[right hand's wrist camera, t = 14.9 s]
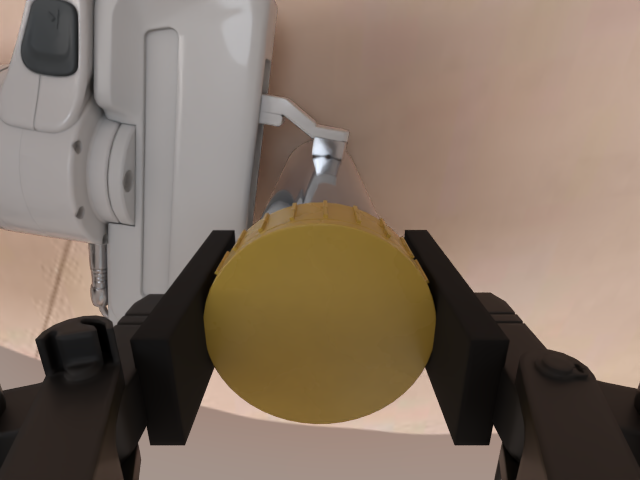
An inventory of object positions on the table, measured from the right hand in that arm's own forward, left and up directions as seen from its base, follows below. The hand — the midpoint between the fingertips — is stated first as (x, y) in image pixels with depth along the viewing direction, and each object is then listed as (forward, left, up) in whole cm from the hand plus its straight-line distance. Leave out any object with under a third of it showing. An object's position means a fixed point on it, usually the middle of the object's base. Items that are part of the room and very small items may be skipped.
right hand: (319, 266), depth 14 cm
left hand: (-1, 0, -9) cm, 9 cm away
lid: (0, 0, +4) cm, 4 cm away
